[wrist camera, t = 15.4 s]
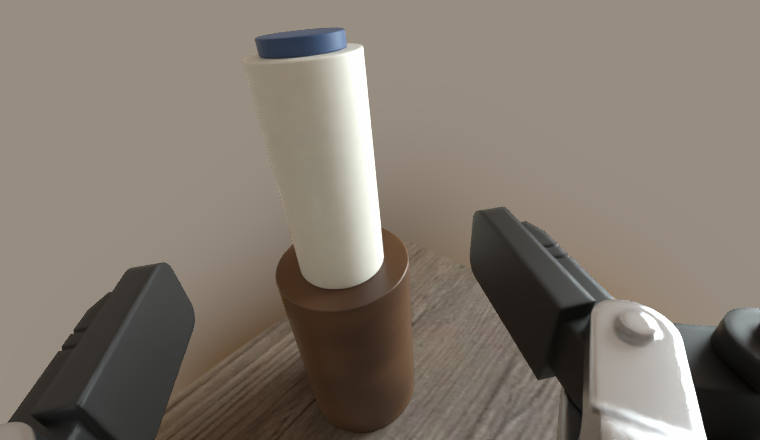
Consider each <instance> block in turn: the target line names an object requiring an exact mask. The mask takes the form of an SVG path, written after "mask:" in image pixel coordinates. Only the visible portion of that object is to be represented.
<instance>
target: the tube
mask: <svg viewBox="0 0 760 440" xmlns="http://www.w3.org/2000/svg"><path fill="white" fill-rule="evenodd" d="M255 42H256V46H257V50H258V53H257V54H253V55H250V56H248V57H246V58H244V59H243V65H244V69H245V72H246V75H247V80H248V83H249V87H250V90H251V94H252V97H253V101H254V104H255V108H256V112H257V116H258V119H259V122H260V126H261V130H262V133H263V137H264V141H265V144H266V148H267V151H268V155H269V159H270V162H271V166H272V169H273V173H274V177H275V180H276V183H277V187H278V191H279V195H280V198H281V202H282V205H283V209H284V212H285V216H286V220H287V223H288V227H289V230H290V234H291V238H292V241H293V245H294V248H295V252H296V256H297V259H298V263H299V266H300V270H301V273H302V275H303V277H304V278H305V279H306V280H307V281H308V282H310V283H311V284H313V285H315V286H317V287H320V288H325V289H345V288H349V287H353V286H356V285H359V284H361V283H363V282H365V281H367V280H368V279H370V278H371V277H372V276H374V275H375V274H376V273H377V272H378V270H379V269H380V267H381V265H382V263H383V258H384V254H383V244H382V234H381V223H380V214H379V203H378V193H377V182H376V172H375V162H374V152H373V143H372V131H371V122H370V111H369V101H368V90H367V81H366V70H365V60H364V50H363V46H362V45H359V44H354V43H346V35H345V29H344V28H318V29H307V30H297V31H290V32H281V33H275V34H269V35H263V36H259V37H257V38H255Z"/></svg>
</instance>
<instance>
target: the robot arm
mask: <svg viewBox="0 0 760 440" xmlns="http://www.w3.org/2000/svg"><path fill="white" fill-rule="evenodd" d="M470 263H471V268H472V271H473V274H474V276H475V278H476V279H477V281H478V283H479V284H480V286H481V288H482V289H483V291H484V292H485V294H486V296H487V297H488V299H489V301H490V302H491V304H492V306H493V307H494V309H495V310H496V312H497V314H498V315H499V317H500V319H501V320H502V322H503V324H504V325H505V327H506V328H507V330H508V332H509V333H510V335H511V337H512V338H513V340H514V342H515V343H516V345H517V346H518V348H519V350H520V351H521V353H522V355H523V356H524V358H525V360H526V361H527V363H528V365H529V366H530V368H531V369H532V371H533V373H534V374H535V376H536V378H537V379H538V380H541V379H545V378H550V377H554V376H556V377H557V379H558V380H559V382H560V383H561V385H562V386H563V387H562V389H561V393H560V404H559V417H558V430H557V440H760V309H756V308H737V309H733V310H731V311H729V312H728V313H727V314H726V315H725V316H724V318H723V319H722V321H721V322H720V324H719V325H718V326H717V327H716V326H702V325H689V324H676V323H671V322H670V321H669V320H667V319H666V318H665V317H664V316H662V315H661V314H659V313H658V312H656V311H655V310H653V309H651V308H649V307H647V306H644V305H642V304H639V303H636V302H633V301H628V300H622V299H614V298H613V297H612V296H611V295H610V294H609V293H608V292H607V291H606V290H604V288H602V287H601V286H600V285H599V284H598V283H597V282H596V281H595V280H594V279H593V278H592V277H591V276H590V275H589V274H588V273H587V272H586V271H585V270H584V269H583V268H582V267H581V266H580V265H579V264H578V263H577V262H576V261H575V260H574V259H572V258H571V257H568V254H567V253H566V252H565V251H564V250H563V249H562V248H561V247H560V246H557V243H556V242H555V241H554V240H553V239H552V238H551V237H550V236H549V235H548V234H547V233H546V232H545V231H543V230H541V229H539V228H538V227H536V226H534V225H532V224H530V223H528V222H526V221H525V222H519V221H518V220H517V219H516V218H515V216H514V215H513V214H512V213H511V212H510V211H509V210H508V209H507V208H505V207H498V208H493V209H486V210H480V211H476V212H475V213H474V216H473V225H472V236H471V247H470ZM194 323H195V317H194V310H193V307H192V304H191V302H190V300H189V298H188V297H187V295H186V293H185V291H184V290H183V288H182V286H181V284H180V282H179V280H178V279H177V277H176V275H175V273H174V271H173V269H172V268H171V267H170V265H168V264H167V263H157V264H151V265H145V266H139V267H133V268H130V269H128V270H127V271H126V272H125V274H124V275H123V276H122V278H121V279H120V281H119V282H118V284H117V286H116V287H115V289H114V290H113V291H112V292H109V293H108V294H106V295H105V296H104V297H103V298H102V299H100V300H99V301H98V302H97V303H96V304H95V305H94V306H92V307H91V308H90V309H89V310H88V311H87V312H86V313H85V315H84V317H83V318H82V319H81V320H80V322H79V323H78V325H77V326H76V327H75V329H74V334H70V336H69V337H68V339H67V340H66V341H65V343H64V344H63V346H62V351H59V352H58V353H57V354H56V355H55V357H54V358H53V360H52V361H51V363H50V364H49V365H48V367H47V368H46V370H45V371H44V372H43V374H42V375H41V377H40V378H39V379H38V381H37V382H36V384H35V385H34V386H33V388H32V389H31V391H30V392H29V393H28V395H27V396H26V398H25V399H24V400H23V402H22V403H21V405H20V406H19V407H18V409H17V410H16V412H15V413H14V414H13V416H12V417H11V419H10V420H9V421H8V423H6V424H1V425H0V440H155V438H156V435H157V432H158V429H159V426H160V424H161V421H162V418H163V415H164V412H165V409H166V406H167V403H168V401H169V398H170V395H171V392H172V389H173V386H174V383H175V380H176V378H177V375H178V372H179V369H180V366H181V363H182V360H183V357H184V355H185V352H186V349H187V346H188V343H189V340H190V337H191V334H192V332H193V328H194Z"/></svg>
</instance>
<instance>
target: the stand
mask: <svg viewBox="0 0 760 440" xmlns="http://www.w3.org/2000/svg"><path fill="white" fill-rule="evenodd" d="M381 234H382V244H383V254H384V258H383V263H382V265H381V267H380V269H379V270H378V272H377V273H376V274H375V275H374V276H372V277H371V278H370V279H368V280H367V281H365V282H363V283H361V284H359V285H356V286H353V287H349V288H345V289H325V288H320V287H317V286H315V285H313V284H311V283H310V282H308V281H307V280H306V279H305V278H304V277H303V275H302V273H301V270H300V266H299V263H298V259H297V256H296V252H295V248H294V245H292V246H291V247H290V248H289V249H288V250H287V251H286V252H285V253H284V254H283V256H282V257H281V259H280V261H279V263H278V266H277V269H276V283H277V286H278V289H279V292H280V295H281V298H282V301H283V304H284V307H285V310H286V313H287V316H288V319H289V322H290V325H291V328H292V331H293V334H294V336H295V339H296V342H297V345H298V348H299V351H300V354H301V357H302V360H303V363H304V366H305V369H306V372H307V375H308V378H309V381H310V384H311V387H312V389H313V392H314V395H315V398H316V401H317V404H318V407H319V409H320V411H321V412H322V414H323V415H324V416H325V418H327V419H328V420H329V421H330V422H331V423H332V424H334V425H335V426H337V427H339V428H341V429H344V430H347V431H351V432H370V431H374V430H377V429H380V428H382V427H385V426H386V425H388V424H390V423H391V422H393V421H394V420H395V419H396V418H397V417H398V416H399V415H400V414H401V413H402V412H403V411H404V410H405V408H406V407H407V405H408V403H409V401H410V399H411V396H412V393H413V389H414V364H413V342H412V321H411V299H410V277H409V256H408V252H407V249H406V247H405V245H404V244H403V242H402V241H401V240H400V239H399V238H398V237H397V236H396V235H394V234H393V233H391V232H390V231H388V230H385V229H383V228H381Z"/></svg>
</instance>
